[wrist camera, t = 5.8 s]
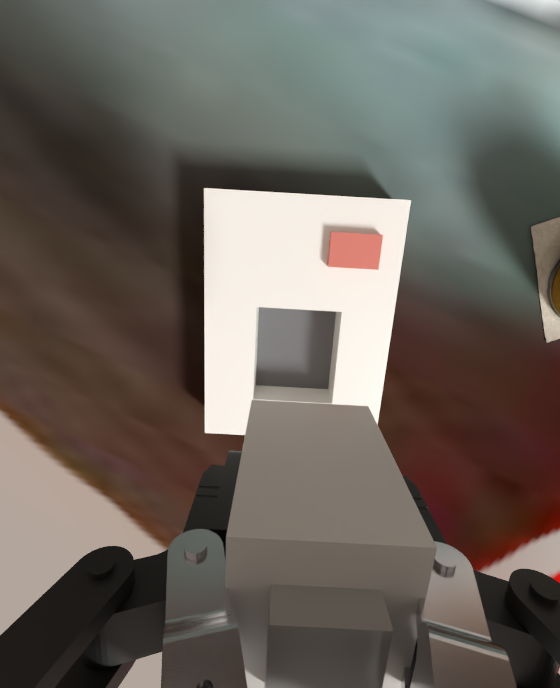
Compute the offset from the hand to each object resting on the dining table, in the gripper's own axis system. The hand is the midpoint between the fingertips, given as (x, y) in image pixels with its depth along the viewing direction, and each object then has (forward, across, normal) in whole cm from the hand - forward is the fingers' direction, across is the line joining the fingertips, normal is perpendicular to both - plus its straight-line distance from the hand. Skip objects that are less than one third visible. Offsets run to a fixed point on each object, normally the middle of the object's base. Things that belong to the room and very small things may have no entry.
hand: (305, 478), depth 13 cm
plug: (+1, 0, 0) cm, 1 cm away
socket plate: (+15, 0, -2) cm, 16 cm away
